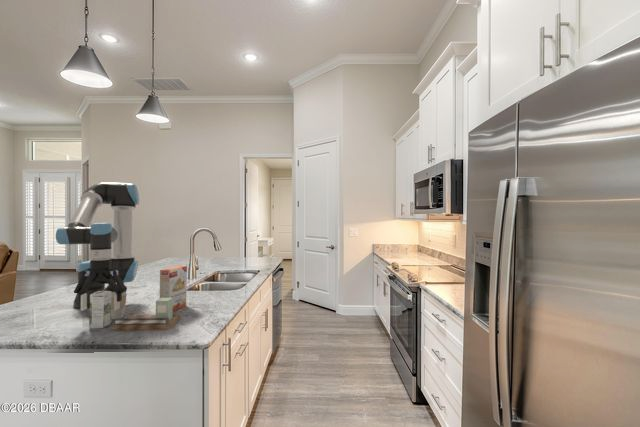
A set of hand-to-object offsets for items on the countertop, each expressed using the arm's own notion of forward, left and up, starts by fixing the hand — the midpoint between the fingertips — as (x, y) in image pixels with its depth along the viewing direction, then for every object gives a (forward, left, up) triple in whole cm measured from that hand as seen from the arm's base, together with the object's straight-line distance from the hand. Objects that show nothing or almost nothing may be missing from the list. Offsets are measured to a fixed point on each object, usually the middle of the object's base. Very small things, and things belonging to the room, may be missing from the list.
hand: (100, 309), depth 138 cm
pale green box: (+26, +1, -5) cm, 26 cm away
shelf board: (+19, +2, -7) cm, 20 cm away
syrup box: (0, 0, -7) cm, 7 cm away
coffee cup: (-1, +13, -7) cm, 15 cm away
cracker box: (+21, +24, -7) cm, 33 cm away
